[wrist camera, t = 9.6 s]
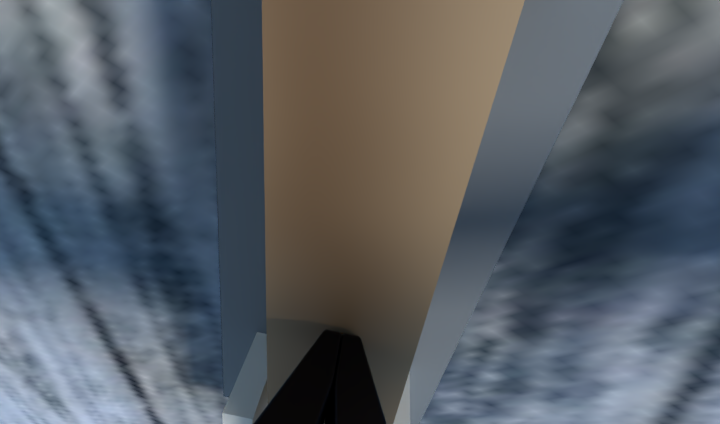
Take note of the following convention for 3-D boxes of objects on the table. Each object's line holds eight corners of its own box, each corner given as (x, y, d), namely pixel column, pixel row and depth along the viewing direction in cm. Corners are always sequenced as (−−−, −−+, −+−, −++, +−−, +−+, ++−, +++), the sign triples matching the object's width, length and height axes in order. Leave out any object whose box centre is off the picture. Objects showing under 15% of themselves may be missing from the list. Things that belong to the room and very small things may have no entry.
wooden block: (495, -147, 9) (631, -344, 3) (372, 381, 19) (361, 526, 14) (344, -167, 9) (256, -390, 3) (305, 370, 19) (269, 510, 14)
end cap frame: (789, -379, 7) (1289, -851, 3) (413, 424, 22) (415, 521, 18) (209, -504, 7) (-50, -1151, 3) (227, 386, 22) (188, 475, 18)
